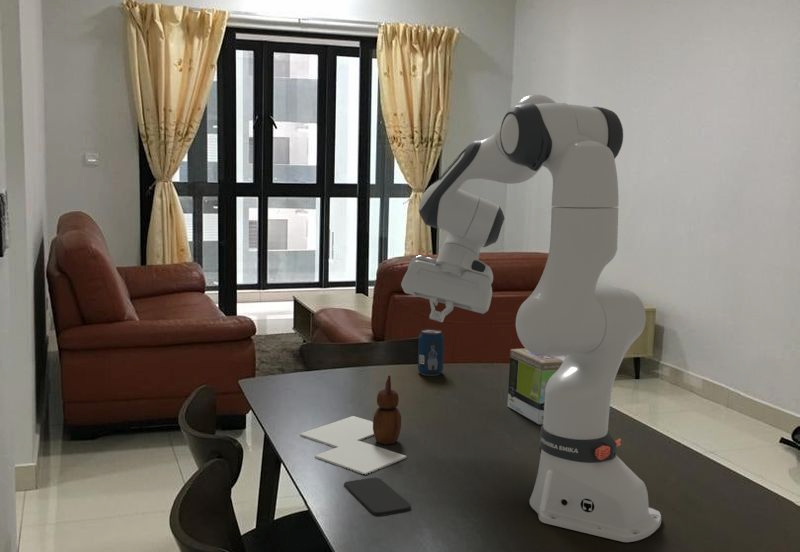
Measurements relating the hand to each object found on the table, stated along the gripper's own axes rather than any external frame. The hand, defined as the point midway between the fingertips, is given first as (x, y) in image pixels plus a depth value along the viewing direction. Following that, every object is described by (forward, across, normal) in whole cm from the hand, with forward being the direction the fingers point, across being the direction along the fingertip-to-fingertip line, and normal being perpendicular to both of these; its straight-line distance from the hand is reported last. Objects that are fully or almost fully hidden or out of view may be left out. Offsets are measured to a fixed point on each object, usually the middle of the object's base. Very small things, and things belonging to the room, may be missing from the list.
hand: (435, 320), depth 186 cm
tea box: (+7, +24, +29) cm, 38 cm away
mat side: (+34, -3, -6) cm, 35 cm away
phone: (+42, +7, -20) cm, 47 cm away
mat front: (+28, -12, +6) cm, 31 cm away
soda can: (-1, -11, +52) cm, 53 cm away
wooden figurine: (+28, -2, +3) cm, 28 cm away
